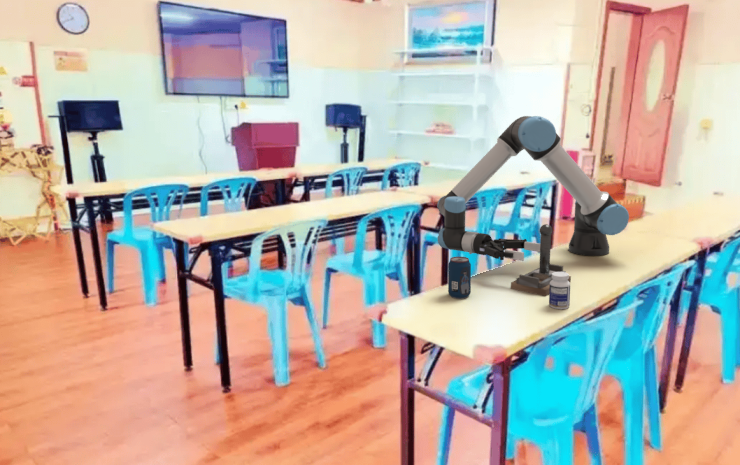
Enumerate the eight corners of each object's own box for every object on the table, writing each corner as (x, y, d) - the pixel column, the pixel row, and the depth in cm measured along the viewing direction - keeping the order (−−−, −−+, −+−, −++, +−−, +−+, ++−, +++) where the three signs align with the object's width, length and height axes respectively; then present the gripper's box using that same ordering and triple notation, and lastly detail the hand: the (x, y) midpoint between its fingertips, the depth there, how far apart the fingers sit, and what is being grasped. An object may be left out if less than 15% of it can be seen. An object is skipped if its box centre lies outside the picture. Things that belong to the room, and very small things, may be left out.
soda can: (454, 290, 179) (454, 254, 177) (474, 294, 175) (474, 257, 173) (444, 297, 174) (444, 260, 171) (464, 300, 170) (464, 263, 167)
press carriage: (539, 274, 187) (541, 222, 183) (555, 277, 183) (557, 224, 179) (532, 277, 183) (534, 224, 179) (548, 281, 179) (551, 226, 176)
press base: (535, 275, 193) (536, 261, 192) (572, 282, 184) (572, 267, 183) (509, 288, 180) (509, 273, 179) (547, 296, 171) (547, 280, 170)
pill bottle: (554, 301, 167) (556, 269, 165) (572, 306, 163) (574, 273, 161) (545, 306, 163) (546, 274, 161) (563, 311, 159) (565, 277, 157)
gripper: (495, 246, 208) (549, 255, 194) (457, 261, 190) (514, 271, 176) (495, 227, 206) (550, 234, 192) (457, 239, 188) (515, 248, 174)
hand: (533, 252), depth 184 cm, fingers open, 13 cm apart
